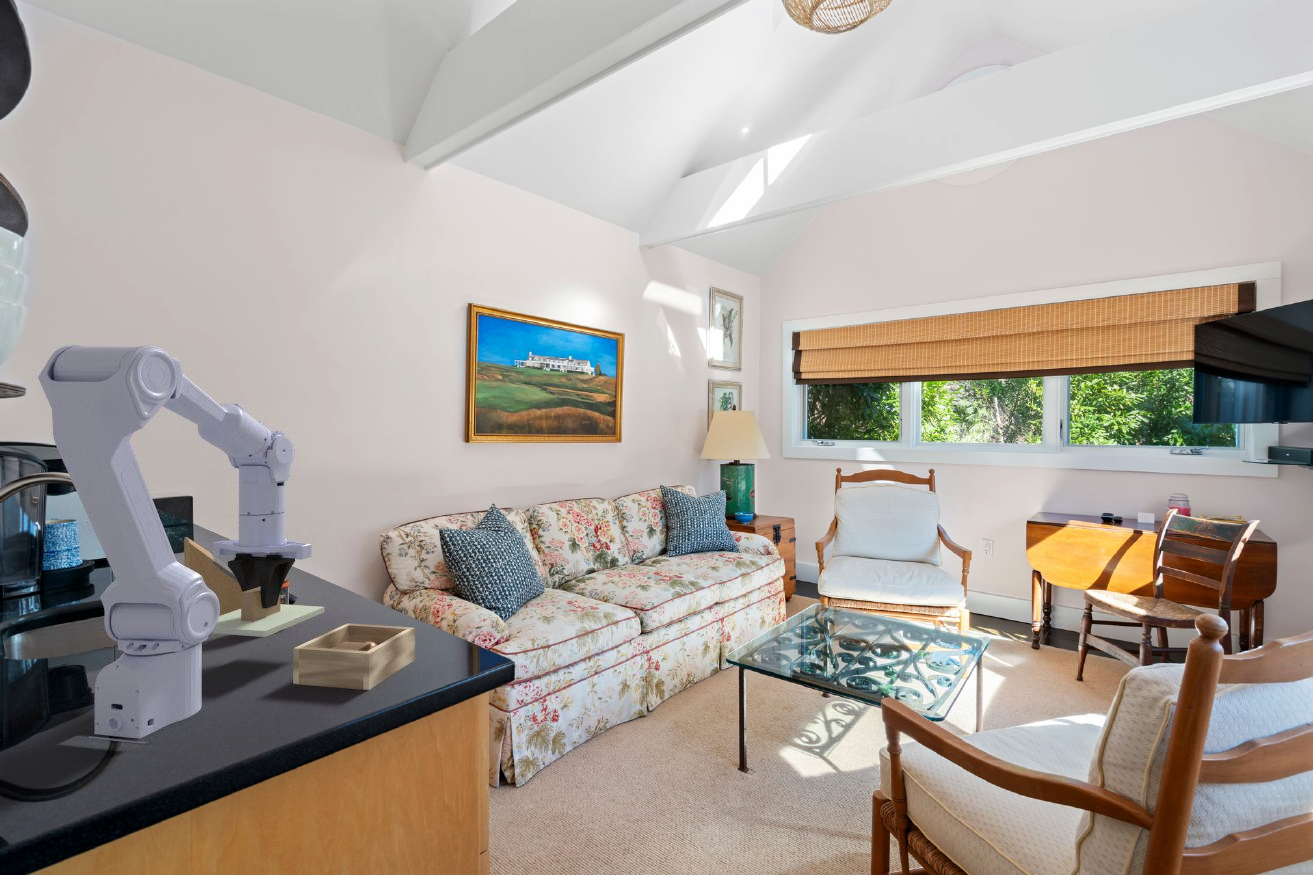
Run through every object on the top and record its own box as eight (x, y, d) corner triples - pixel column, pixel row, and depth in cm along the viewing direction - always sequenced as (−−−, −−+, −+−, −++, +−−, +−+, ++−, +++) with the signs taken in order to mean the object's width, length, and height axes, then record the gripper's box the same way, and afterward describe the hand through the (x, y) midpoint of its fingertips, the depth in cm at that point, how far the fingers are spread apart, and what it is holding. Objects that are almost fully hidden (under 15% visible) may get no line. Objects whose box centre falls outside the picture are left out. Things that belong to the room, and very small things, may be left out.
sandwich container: (289, 612, 118) (289, 533, 118) (188, 628, 108) (188, 542, 108) (279, 602, 125) (279, 528, 124) (183, 617, 114) (184, 536, 114)
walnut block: (351, 683, 83) (352, 653, 83) (324, 680, 84) (324, 651, 84) (370, 671, 87) (370, 643, 87) (344, 669, 88) (344, 641, 88)
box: (368, 695, 81) (369, 653, 81) (293, 689, 83) (293, 648, 83) (414, 664, 92) (415, 627, 92) (347, 659, 94) (347, 623, 93)
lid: (265, 636, 84) (265, 601, 84) (190, 631, 86) (190, 597, 86) (324, 611, 95) (324, 580, 95) (257, 607, 97) (257, 577, 97)
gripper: (326, 510, 93) (325, 601, 94) (241, 508, 96) (240, 596, 96) (291, 517, 86) (291, 614, 87) (200, 514, 89) (200, 609, 89)
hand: (262, 606), depth 91 cm, fingers closed on lid
